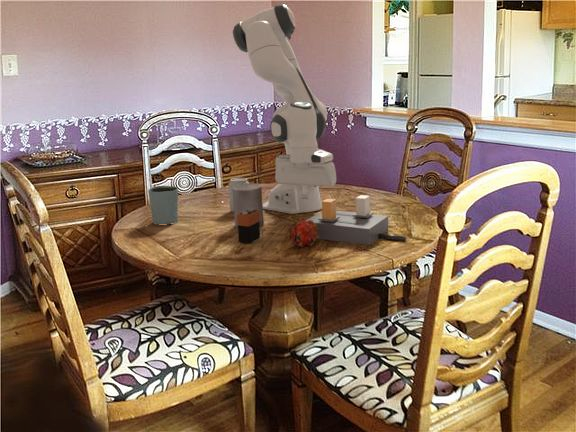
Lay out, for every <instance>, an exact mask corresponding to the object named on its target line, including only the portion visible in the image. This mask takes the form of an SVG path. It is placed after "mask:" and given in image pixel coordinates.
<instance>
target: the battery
mask: <svg viewBox="0 0 576 432" xmlns="http://www.w3.org/2000/svg"><path fill="white" fill-rule="evenodd" d="M237 225H238V228H237V236H238V237H237V238H238V243H241V244H248V245H251V244H252V243H253V242H256V241H258V240H259V239H260V238H261V227H260V222H259V211H258V210H254V208H248V210H246V211H242V212H241V213H239V214H238V215H237Z"/></svg>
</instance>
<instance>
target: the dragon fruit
mask: <svg viewBox="0 0 576 432" xmlns="http://www.w3.org/2000/svg"><path fill="white" fill-rule="evenodd" d="M300 220H301V221H297V222H295V223H294V224H293V225H292V227H291V228H290V230H289V239H290V240H291V241H292V242H293V244H295V248H297V249H298V248H303V247H304V246H305V245H307V246H308V247H312V245H314V244H315V241H316V240H319V239H318V238H319V237H320V235H318V234H317V232H318V231H319V229H318V226H317V224H316V223H314V222H313V221H312V220H308V221H305V219H304V218H301V219H300Z"/></svg>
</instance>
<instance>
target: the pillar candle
mask: <svg viewBox="0 0 576 432" xmlns="http://www.w3.org/2000/svg"><path fill="white" fill-rule="evenodd" d="M248 182H249V181H248ZM248 182H247V183H245V184H238V185H235V186H233V201H234V212H233V213H234V214H233V215H234V225H235V226H234V227H235V228H236V229H238V225H237V215H238V214H239V213H241V212H242V211H246V210H248V208H254V210H258V211H259V222H260V228H262V227H263V226H264V224H265V223H264V221H265V220H264V219H265V218H264V209H263V193H262V192H263V191H262V190H263V189H262V184H261V183H260V184H259V183H254V182H253V183H252V182H249V183H248Z"/></svg>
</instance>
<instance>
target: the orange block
mask: <svg viewBox="0 0 576 432" xmlns="http://www.w3.org/2000/svg"><path fill="white" fill-rule="evenodd" d="M321 203H322V209H321V212H322V217H321V218H319V219H318V220H321V221H330V222H334V221H335V220H337V219H339V218H340V216H336V211H337V199H335V198H325V199H324V200H321Z"/></svg>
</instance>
